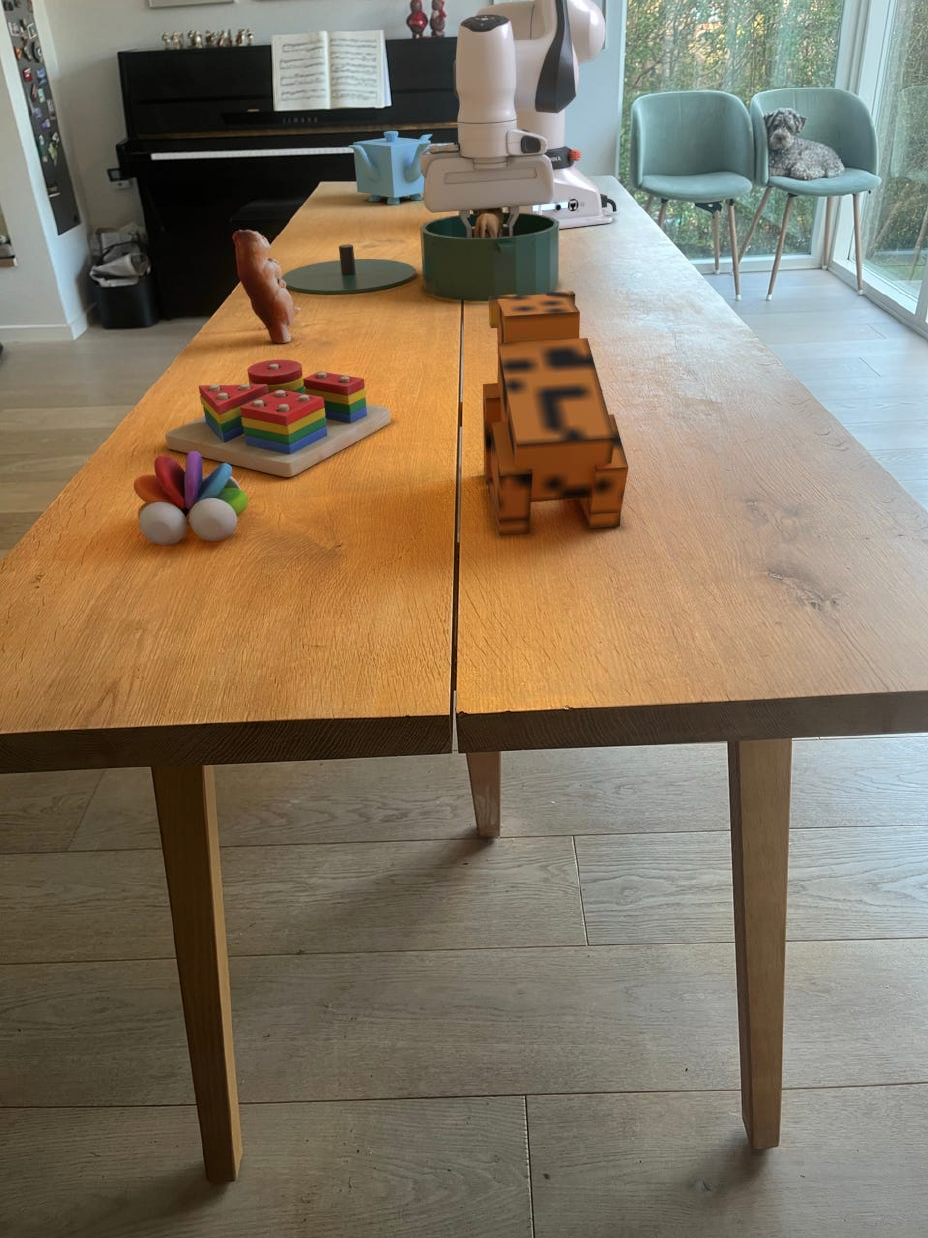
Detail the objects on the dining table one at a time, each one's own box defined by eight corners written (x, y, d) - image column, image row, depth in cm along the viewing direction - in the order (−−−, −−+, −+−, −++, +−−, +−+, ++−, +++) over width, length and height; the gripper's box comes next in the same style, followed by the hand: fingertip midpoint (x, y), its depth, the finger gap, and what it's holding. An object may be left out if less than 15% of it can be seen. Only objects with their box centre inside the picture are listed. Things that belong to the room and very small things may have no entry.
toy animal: (502, 547, 83) (498, 361, 75) (479, 456, 100) (474, 296, 92) (625, 538, 84) (635, 353, 75) (582, 449, 101) (586, 289, 92)
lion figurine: (470, 246, 162) (468, 187, 158) (502, 245, 162) (501, 186, 158) (473, 266, 150) (471, 203, 145) (508, 265, 150) (507, 201, 145)
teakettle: (362, 194, 243) (356, 128, 235) (438, 191, 242) (434, 125, 234) (352, 208, 227) (346, 137, 219) (433, 205, 226) (429, 134, 218)
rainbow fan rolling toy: (151, 511, 92) (134, 438, 88) (255, 504, 92) (243, 431, 88) (133, 554, 85) (113, 476, 81) (246, 546, 85) (232, 468, 81)
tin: (535, 263, 172) (536, 205, 167) (578, 301, 150) (580, 235, 145) (413, 273, 169) (410, 214, 164) (438, 313, 147) (434, 247, 142)
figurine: (308, 335, 140) (294, 223, 132) (278, 350, 134) (262, 234, 126) (272, 331, 142) (256, 221, 134) (241, 346, 136) (222, 232, 128)
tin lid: (406, 261, 178) (404, 228, 175) (425, 291, 159) (423, 254, 156) (280, 271, 175) (276, 237, 172) (283, 303, 156) (278, 265, 153)
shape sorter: (289, 479, 97) (281, 420, 94) (165, 449, 105) (153, 393, 102) (393, 422, 109) (388, 368, 106) (274, 398, 117) (267, 348, 114)
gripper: (422, 148, 144) (427, 247, 152) (557, 139, 147) (556, 237, 154) (416, 143, 149) (421, 239, 157) (547, 135, 152) (546, 229, 160)
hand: (489, 238), depth 156 cm, fingers closed on lion figurine, 4 cm apart
